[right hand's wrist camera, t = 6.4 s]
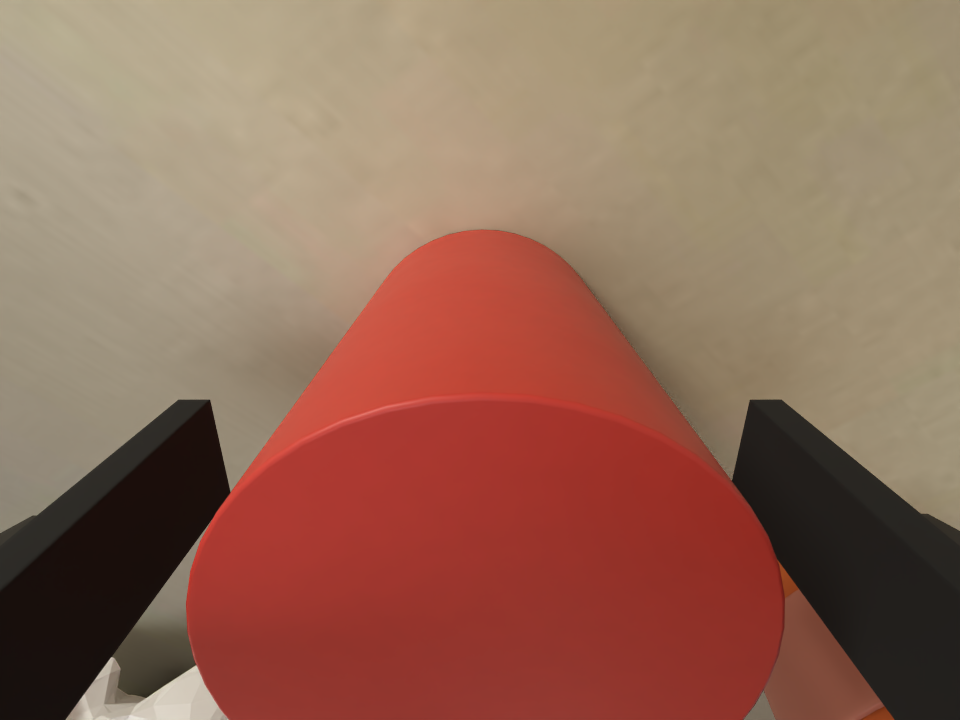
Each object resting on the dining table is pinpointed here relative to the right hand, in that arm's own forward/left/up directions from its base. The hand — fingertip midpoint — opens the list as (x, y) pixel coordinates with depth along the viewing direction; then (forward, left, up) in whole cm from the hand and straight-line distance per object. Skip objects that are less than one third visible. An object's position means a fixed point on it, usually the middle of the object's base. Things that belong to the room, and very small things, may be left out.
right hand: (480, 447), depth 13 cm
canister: (0, 0, -6) cm, 6 cm away
